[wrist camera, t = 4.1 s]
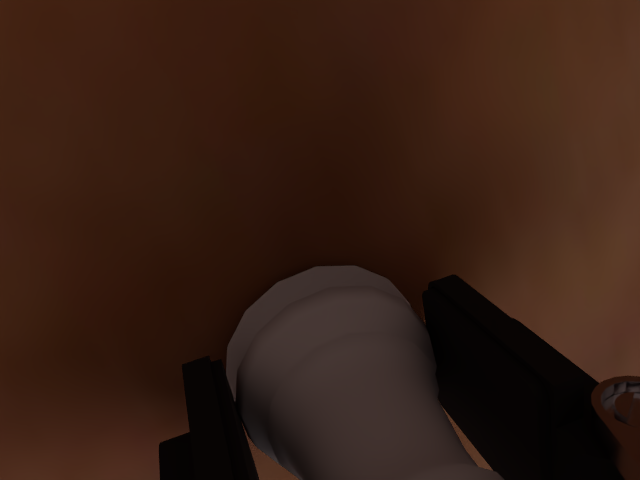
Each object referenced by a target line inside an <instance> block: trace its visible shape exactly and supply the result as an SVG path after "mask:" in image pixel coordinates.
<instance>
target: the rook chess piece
mask: <svg viewBox="0 0 640 480" xmlns="http://www.w3.org/2000/svg"><path fill="white" fill-rule="evenodd" d="M436 368H437V365H436V360H435V356H434V352H433V348H432V344H431V340H430V336H429V333H428V330H427V327H426V325H425V323H424V322H423V321H422V320H421V318H420V317H419V316H418V315H417V314H416V313H415V312H414V310H413V309H412V308H411V306H410V303H409V302H408V301H407V300H406V298H405V297H404V296H403V295H402V294H401V293H400V292H399V290H398V289H397V288H396V287H395V286H394V285H393V284H392V282H391V281H390V280H389V279H387V278H385V277H382V276H380V275H378V274H375V273H373V272H370V271H368V270H365V269H363V268H360V267H358V266H316V267H314V268H311V269H309V270H306V271H304V272H301V273H299V274H296V275H294V276H291V277H289V278H286V279H284V280H282V281H279V282H277V283H276V284H275V285H274V286H272V287H271V288H270V289H269V290H268V291H267V292H266V293H265V294H264V295H262V296H261V297H260V298H259V299H258V300H257V301H256V302H255V303H254V304H252V305H251V306H250V307H249V308H248V309H247V310H246V311H245V313H244V315H243V317H242V319H241V321H240V323H239V324H238V326H237V328H236V330H235V332H234V334H233V336H232V338H231V340H230V342H229V344H228V346H227V363H226V376H227V379H228V382H229V385H230V388H231V391H232V394H233V398H234V401H235V404H236V408H237V411H238V414H239V417H240V419H241V421H242V423H243V426H244V428H245V430H246V432H247V434H248V436H249V438H250V439H251V441H252V442H253V443H254V444H255V446H256V447H257V448H258V449H260V450H261V451H262V452H264V453H265V454H266V455H268V456H269V457H270V458H272V459H273V460H274V461H276V462H277V463H278V464H280V465H281V466H282V467H284V468H285V469H287V470H288V471H289V472H291V473H292V474H293V475H295V476H296V477H297V478H299V479H300V480H504V479H503V478H502V477H501V476H500V475H499V474H498V473H497V472H495V471H491V470H488V469H484V468H480V467H478V466H477V464H476V463H475V462H474V460H473V459H472V458H471V457H470V455H469V454H468V453H467V451H466V450H465V448H464V446H463V445H462V443H461V441H460V439H459V437H458V435H457V434H456V432H455V430H454V428H453V426H452V424H451V423H450V421H449V419H448V417H447V415H446V413H445V412H444V410H443V408H442V406H441V404H440V402H439V401H438V399H437V398H438V393H439V387H438V383H437V379H436V375H435V373H436Z"/></svg>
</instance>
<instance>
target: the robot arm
mask: <svg viewBox="0 0 640 480" xmlns="http://www.w3.org/2000/svg"><path fill="white" fill-rule="evenodd" d="M422 298H423V306H424V313H425V320H426V327H427V330H428V333H429V336H430V340H431V344H432V348H433V352H434V356H435V360H436V365H437V368H436V373H435V375H436V379H437V383H438V387H439V393H438V400H439V402H440V404H441V405H442V407H443V408H444V409H445V410H446V412H447V413H448V414H449V415H450V417H451V418H452V419H453V420H454V422H455V423H456V424H457V425H458V427H459V428H460V429H461V430H462V432H463V433H464V434H465V435H466V437H467V438H468V439H469V441H470V442H471V443H472V444H473V446H474V447H475V448H476V449H477V451H478V452H479V453H480V454H481V456H482V457H483V458H484V459H485V461H486V462H487V463H488V464H489V466H490V467H491V468H492V469H493V471H495V472H497V473H498V474H499V475H500V476H501V477H502V478H503V479H504V480H640V377H639V376H619V377H613V378H610V379H607V380H604V381H602V382H601V383H598V382H597V381H596V380H594V379H593V378H592V377H591V376H589V375H588V374H587V373H585V372H584V371H583V370H582V369H580V368H579V367H578V366H576V365H575V364H574V363H572V362H571V361H570V360H569V359H567V358H566V357H565V356H563V355H562V354H561V353H559V352H558V351H557V350H556V349H554V348H553V347H552V346H550V345H549V344H548V343H547V342H545V341H544V340H543V339H541V338H540V337H539V336H537V335H536V334H535V333H534V332H532V331H531V330H530V329H528V328H527V327H526V326H524V325H523V324H522V323H521V322H519V321H517V320H516V319H514V318H511V317H509V316H508V315H507V314H505V313H504V312H503V311H502V310H500V309H499V308H498V307H497V306H495V305H494V304H493V303H491V302H490V301H489V300H488V299H486V298H485V297H484V296H482V295H481V294H480V293H479V292H477V291H476V290H475V289H473V288H472V287H471V286H470V285H468V284H467V283H466V282H464V281H463V280H462V279H461V278H459V277H458V276H456V275H450V276H447V277H444V278H441V279H438V280H435V281H432V282H430V283H429V285H428V290H426V291H424V292H423V294H422ZM182 371H183V379H184V388H185V396H186V404H187V413H188V421H189V429H190V432H189V433H186V434H183V435H180V436H178V437H175V438H172V439H169V440H166V441H164V442H161V443H160V445H159V465H160V480H259V477H258V474H257V470H256V467H255V463H254V460H253V457H252V454H251V451H250V447H249V444H248V441H247V438H246V435H245V432H244V429H243V426H242V422H241V419H240V417H239V414H238V411H237V408H236V404H235V401H234V398H233V394H232V391H231V388H230V385H229V382H228V379H227V376H226V373H225V369H224V366H223V363H222V360H221V359H220V360H217V361H214V362H211V360H210V357H209V356H206V357H203V358H200V359H197V360H194V361H191V362H188V363H185V364H182Z"/></svg>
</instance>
